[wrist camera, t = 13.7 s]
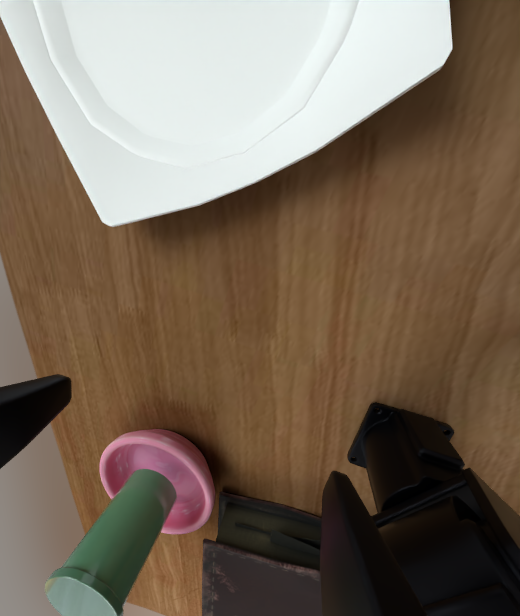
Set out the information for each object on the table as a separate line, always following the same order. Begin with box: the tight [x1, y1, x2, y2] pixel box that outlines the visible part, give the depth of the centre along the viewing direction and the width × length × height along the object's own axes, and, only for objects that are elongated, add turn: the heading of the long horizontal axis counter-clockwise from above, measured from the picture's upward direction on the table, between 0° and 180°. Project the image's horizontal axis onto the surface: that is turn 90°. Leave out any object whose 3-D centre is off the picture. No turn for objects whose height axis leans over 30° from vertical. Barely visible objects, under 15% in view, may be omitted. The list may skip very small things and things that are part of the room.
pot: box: [45, 469, 177, 616], centre depth 20 cm, size 6×6×8 cm
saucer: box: [100, 429, 215, 534], centre depth 25 cm, size 12×12×3 cm
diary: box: [202, 492, 322, 616], centre depth 25 cm, size 19×25×5 cm
